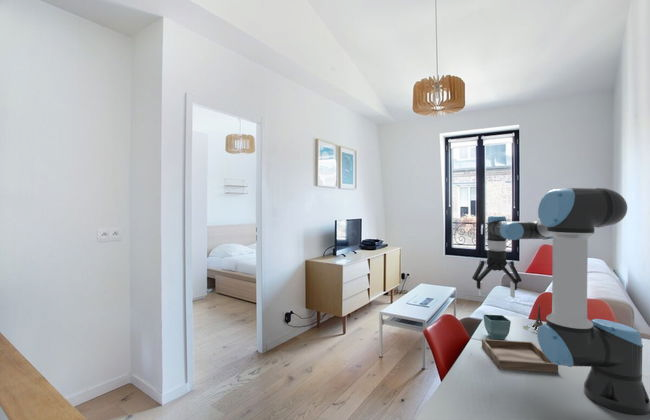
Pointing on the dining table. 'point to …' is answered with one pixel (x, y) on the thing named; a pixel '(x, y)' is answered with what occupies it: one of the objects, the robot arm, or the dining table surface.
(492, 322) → the flower pot
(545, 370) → the box
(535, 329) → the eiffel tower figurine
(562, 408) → the dining table surface
